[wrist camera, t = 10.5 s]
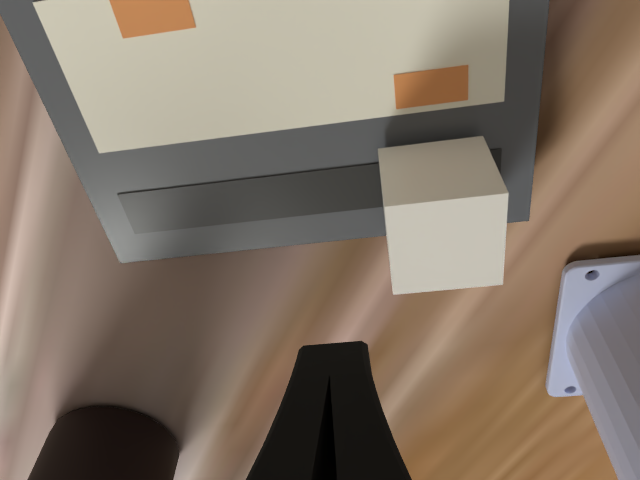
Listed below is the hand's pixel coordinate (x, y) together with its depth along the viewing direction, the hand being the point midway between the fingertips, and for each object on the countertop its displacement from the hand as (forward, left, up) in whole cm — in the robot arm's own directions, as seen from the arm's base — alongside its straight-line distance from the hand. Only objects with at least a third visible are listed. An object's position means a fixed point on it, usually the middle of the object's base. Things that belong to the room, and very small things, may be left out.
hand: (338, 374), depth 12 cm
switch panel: (+1, -5, -9) cm, 10 cm away
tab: (-3, 0, -7) cm, 7 cm away
